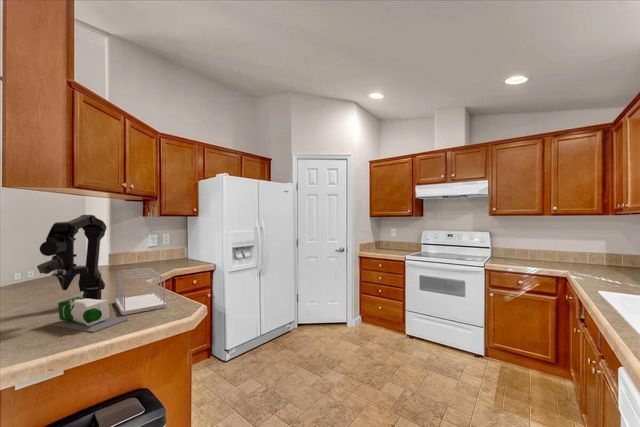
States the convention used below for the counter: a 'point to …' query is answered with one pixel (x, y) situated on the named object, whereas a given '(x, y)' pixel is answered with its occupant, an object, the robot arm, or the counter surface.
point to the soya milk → (83, 310)
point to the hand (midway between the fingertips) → (64, 290)
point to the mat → (93, 328)
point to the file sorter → (142, 301)
